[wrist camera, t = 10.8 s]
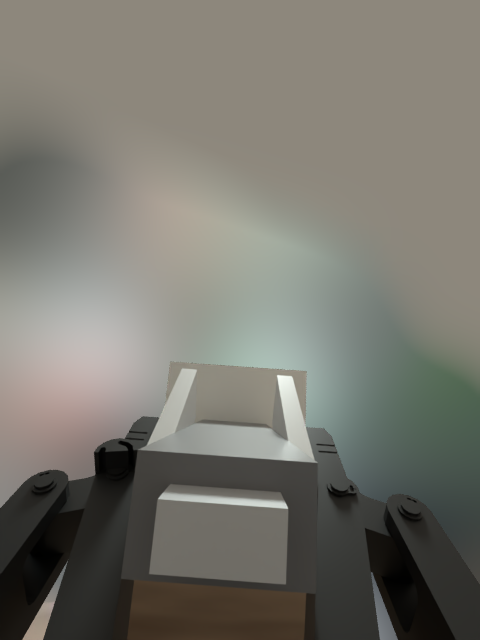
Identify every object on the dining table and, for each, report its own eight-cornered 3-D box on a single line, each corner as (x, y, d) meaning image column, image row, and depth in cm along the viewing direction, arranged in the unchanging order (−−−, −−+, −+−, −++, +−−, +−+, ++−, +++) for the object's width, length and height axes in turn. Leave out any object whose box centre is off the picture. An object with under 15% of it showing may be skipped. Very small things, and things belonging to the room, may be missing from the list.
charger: (480, 643, 6) (452, 303, 7) (-48, 602, 6) (27, 274, 7) (284, 449, 30) (287, 380, 31) (182, 442, 30) (189, 373, 31)
